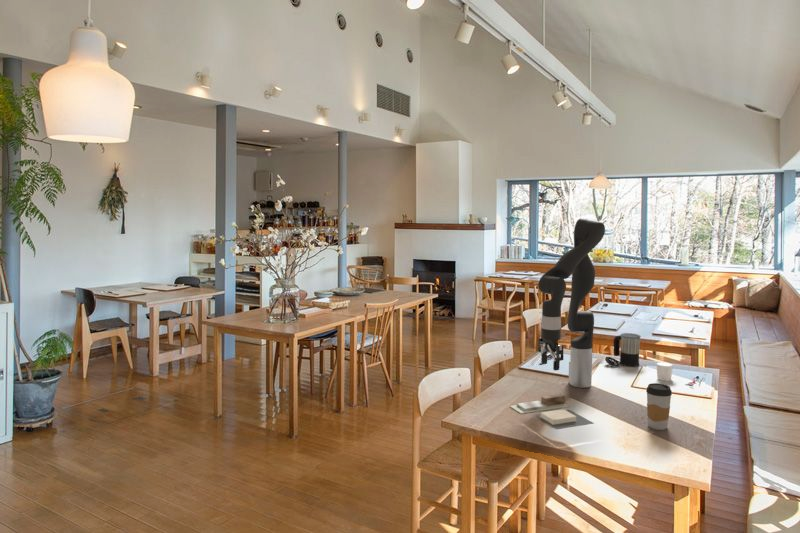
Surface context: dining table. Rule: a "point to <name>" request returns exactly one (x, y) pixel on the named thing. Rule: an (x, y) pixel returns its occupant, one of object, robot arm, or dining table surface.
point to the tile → (558, 417)
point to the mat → (578, 422)
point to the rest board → (539, 409)
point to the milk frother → (626, 350)
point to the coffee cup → (658, 405)
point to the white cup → (664, 371)
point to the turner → (543, 402)
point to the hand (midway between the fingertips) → (550, 366)
